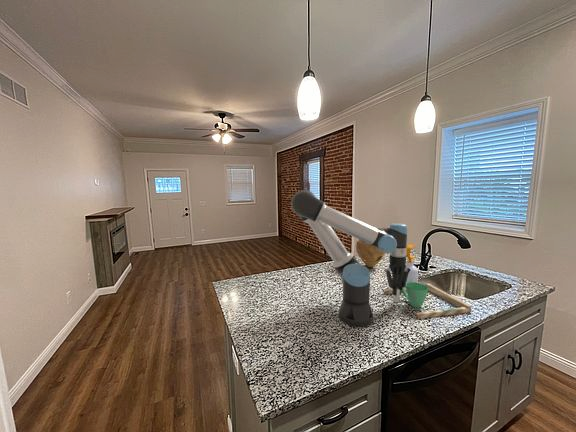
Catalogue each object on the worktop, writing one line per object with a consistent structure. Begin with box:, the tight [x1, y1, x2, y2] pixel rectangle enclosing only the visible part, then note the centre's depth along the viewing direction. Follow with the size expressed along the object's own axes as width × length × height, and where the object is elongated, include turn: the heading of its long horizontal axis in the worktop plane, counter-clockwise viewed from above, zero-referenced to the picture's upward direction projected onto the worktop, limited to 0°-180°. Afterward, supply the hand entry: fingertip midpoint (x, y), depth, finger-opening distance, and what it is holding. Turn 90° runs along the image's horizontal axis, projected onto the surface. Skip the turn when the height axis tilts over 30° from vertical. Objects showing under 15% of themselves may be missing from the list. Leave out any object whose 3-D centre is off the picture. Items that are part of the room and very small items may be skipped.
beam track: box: [383, 283, 472, 319], centre depth 126 cm, size 28×27×3 cm
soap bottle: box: [404, 243, 419, 288], centre depth 145 cm, size 9×9×25 cm
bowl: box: [355, 238, 386, 268], centre depth 179 cm, size 21×20×20 cm
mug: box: [401, 282, 429, 309], centre depth 124 cm, size 15×10×10 cm
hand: (396, 300), depth 123 cm, fingers closed
